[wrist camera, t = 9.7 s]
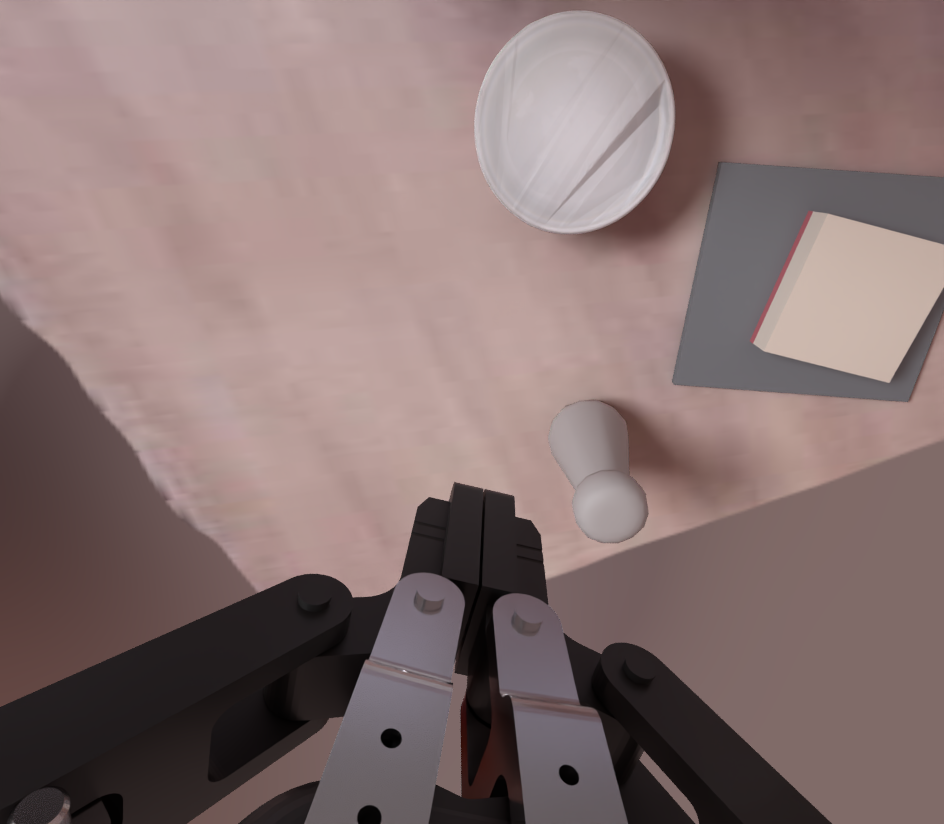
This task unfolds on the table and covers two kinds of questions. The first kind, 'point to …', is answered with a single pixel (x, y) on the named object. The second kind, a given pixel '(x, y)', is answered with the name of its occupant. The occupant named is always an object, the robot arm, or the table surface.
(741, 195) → the slate mat
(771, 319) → the tile
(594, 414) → the salt shaker
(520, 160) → the ramekin
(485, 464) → the table surface
